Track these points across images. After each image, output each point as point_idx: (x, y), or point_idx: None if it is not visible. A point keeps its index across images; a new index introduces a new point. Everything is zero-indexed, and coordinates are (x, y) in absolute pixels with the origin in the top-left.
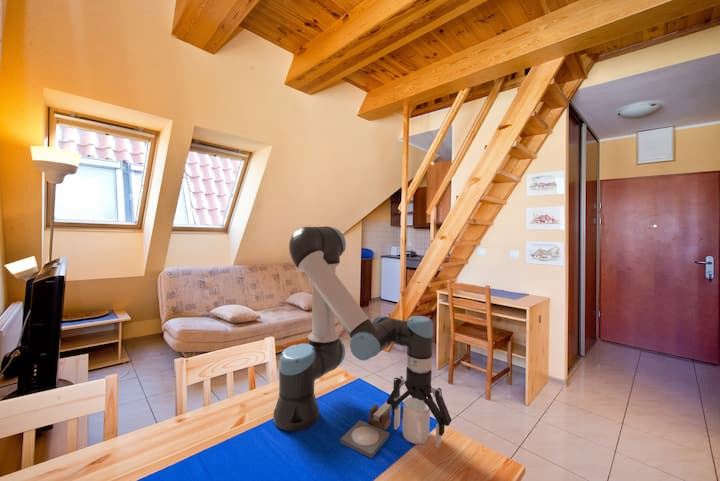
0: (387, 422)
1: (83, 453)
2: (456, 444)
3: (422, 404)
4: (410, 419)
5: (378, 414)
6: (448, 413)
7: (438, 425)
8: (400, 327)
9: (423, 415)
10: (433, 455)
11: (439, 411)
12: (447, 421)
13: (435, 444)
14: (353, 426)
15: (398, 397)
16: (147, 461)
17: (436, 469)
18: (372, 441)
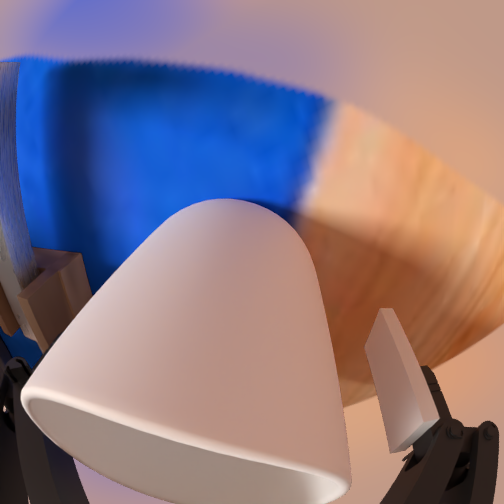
0: (74, 299)
1: (4, 407)
2: (455, 232)
3: (188, 348)
4: (201, 449)
5: (32, 331)
6: (492, 476)
7: (404, 450)
8: None
9: (291, 483)
10: (351, 350)
11: (435, 498)
12: (460, 472)
13: (366, 352)
14: (38, 344)
15: None
16: None
17: (363, 389)
18: None
